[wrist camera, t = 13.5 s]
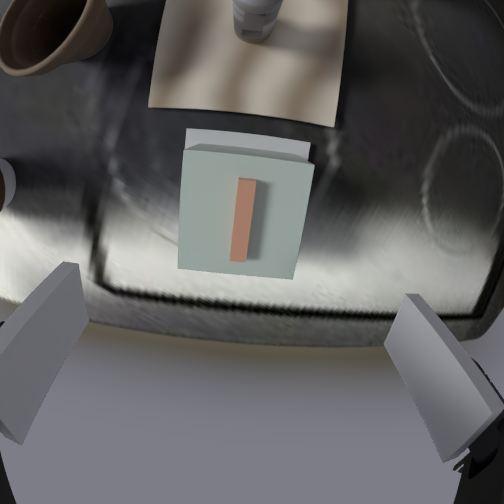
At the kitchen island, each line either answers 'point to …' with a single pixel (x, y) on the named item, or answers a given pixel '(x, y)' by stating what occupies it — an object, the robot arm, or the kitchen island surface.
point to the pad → (247, 141)
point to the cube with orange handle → (242, 210)
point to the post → (251, 57)
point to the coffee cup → (6, 183)
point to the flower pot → (51, 34)
